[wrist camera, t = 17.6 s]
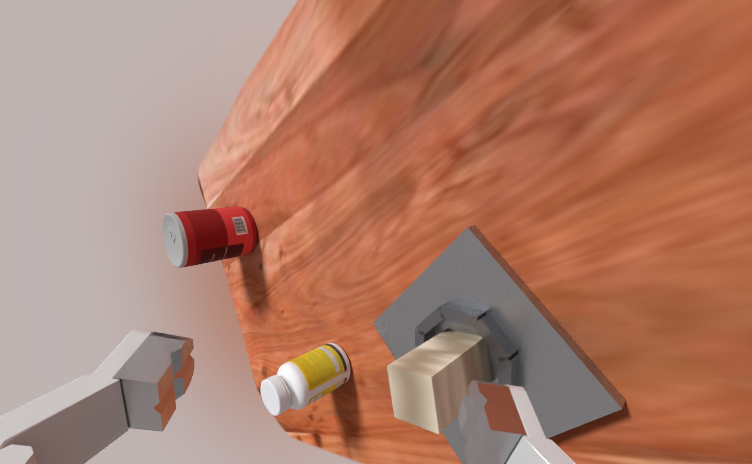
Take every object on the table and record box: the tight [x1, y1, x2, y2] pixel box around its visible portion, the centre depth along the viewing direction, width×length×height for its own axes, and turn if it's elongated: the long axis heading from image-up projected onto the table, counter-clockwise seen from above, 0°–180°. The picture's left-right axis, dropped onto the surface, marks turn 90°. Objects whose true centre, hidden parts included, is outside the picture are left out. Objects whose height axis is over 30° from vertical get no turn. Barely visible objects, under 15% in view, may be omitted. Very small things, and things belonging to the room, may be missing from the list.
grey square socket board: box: [373, 225, 625, 464], centre depth 31 cm, size 16×16×3 cm
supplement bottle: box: [261, 343, 351, 416], centre depth 43 cm, size 5×5×10 cm
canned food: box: [162, 207, 257, 268], centre depth 54 cm, size 8×8×11 cm
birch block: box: [387, 330, 492, 434], centre depth 29 cm, size 4×4×8 cm
